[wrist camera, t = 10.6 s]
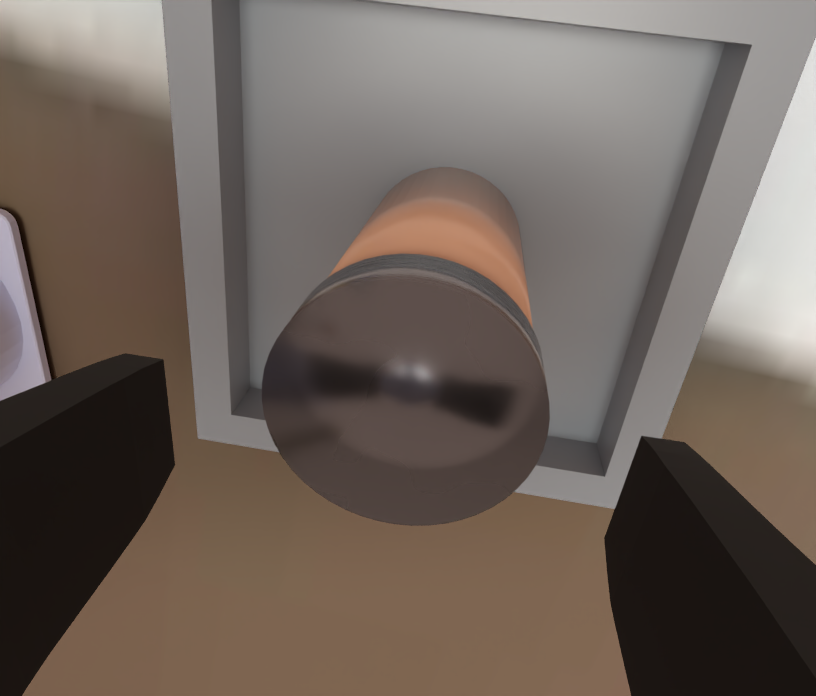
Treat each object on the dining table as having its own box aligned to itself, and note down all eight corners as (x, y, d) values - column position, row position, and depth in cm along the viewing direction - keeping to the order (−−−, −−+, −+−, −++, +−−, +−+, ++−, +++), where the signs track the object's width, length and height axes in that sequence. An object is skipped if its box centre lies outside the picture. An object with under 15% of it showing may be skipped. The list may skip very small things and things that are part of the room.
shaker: (364, 307, 19) (268, 506, 11) (369, 156, 16) (252, 264, 9) (512, 323, 18) (525, 542, 10) (535, 170, 16) (576, 299, 8)
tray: (227, 398, 22) (197, 438, 20) (204, -71, 15) (154, -89, 13) (618, 462, 21) (633, 512, 19) (783, -8, 14) (835, -15, 12)
